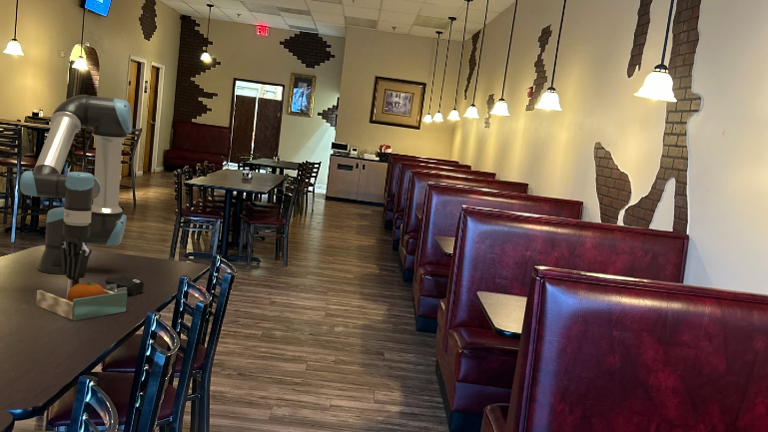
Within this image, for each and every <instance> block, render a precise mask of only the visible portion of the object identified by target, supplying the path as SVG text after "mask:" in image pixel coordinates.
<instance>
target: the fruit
mask: <svg viewBox="0 0 768 432" xmlns="http://www.w3.org/2000/svg"><path fill="white" fill-rule="evenodd" d="M104 289H105V288H103V286H101V285H99V284H98V283H96V282H81V283H80V282H79V284H76V285H74V286H73V287H72V288H71V289H70V290H69V292H68V294H67V293H66V297H67V299H66V300H68V301H71V302H73V299H78V298H85V297H91V296H98V295H104V294H106V293H105V291H104Z"/></svg>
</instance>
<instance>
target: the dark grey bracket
mask: <svg viewBox="0 0 768 432" xmlns="http://www.w3.org/2000/svg"><path fill="white" fill-rule="evenodd" d="M116 287H117V284H109V285H107V284H106V285H105V289H106V290H109V291H111V292H114V293H117V292H124V291H125V292H127V288H126V287H123V288H116Z"/></svg>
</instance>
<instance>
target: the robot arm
mask: <svg viewBox="0 0 768 432" xmlns="http://www.w3.org/2000/svg"><path fill="white" fill-rule="evenodd" d="M50 124H51V126H50V130H49V131H48V134H47V136H46V139H45V141H44V144H43V146H42V148H41V152H40V154H39V156H38V158H37V162H36V163H35V166H34V168H33V170H26V171H24V172H23V173H22V174H21V176H20V181H19V182H20V185H19V187H20V191H21V193H22V194H23V195H26V196H31V197H41V198H55V199H57V198H58V199H64V207H56V208H52V209H50V210H48V212H47V216H46V221H45V224H46V225H45V239H44V240H45V244H44V249H43V250H44V251H43V252H42V255H41V258H40V260H39V262H38V271H39V270H40V271H39V272H42V273H46V274H54V275H65V277H66V279H67V280H66V283H67V284H66V295H67V294H68V292H69V290H70V289H71V288H72V287H73V286H74V285H76V284H80V280H81V279H84V278H85V276H86V272H87V268H88V263H89V260H90V259H89V258H90V256H91V254H92V249H91V248H90V249H89V248H88V247H87V244H89V245H103V246H119V245H120V243H121V242H122V240H123V237H124V235H125V234H124V233H125V230H126V225H127V219H128V218H127V217H128V216H127V215H125V214H123V208H121V206H119V201H120V185H121V183H120V181H121V169H122V168H121V167H122V166H121V165H122V149H123V148H122V147H123V146H122V144H123V141H124V140H126V139H127V138H128V134H131V132H132V131H133V115H132V108H131V105H130V103H129V102H128V101H127V100H125V99H124V100H123V99H121V98H120V99H119V98H115V97H106V96H105V97H103V96H95V95H89V94H78V95H75V96H72V97H69V98H68V99H66V100H64V101H62V103H60V104H59V105H58V106H57V107H56V108H55V110H54V111H53V112H52V115H51V117H50ZM81 128H83V129H90V130H92V131H91V135H92V136H93V138H95V140H96V141H95V142H96V143H95V144H96V145H95V158H94V159H95V160H94V161H95V163H94V175H93V174H92V173H89V172H83V171H70V172H67V174H61V173H62V171H63V168H64V165H65V163H66V160H67V157H68V154H69V152H70V148H71V146H72V144H73V142H74V138H75V135H76V134H77V133H79V132H80V131H81ZM65 298H66V300H67V296H66V297H65Z"/></svg>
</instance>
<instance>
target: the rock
mask: <svg viewBox="0 0 768 432" xmlns="http://www.w3.org/2000/svg"><path fill="white" fill-rule="evenodd" d="M104 282H105V284H106V285H109V284H117V287H116V288H123V287H126V288H127V296H130V297H131V296H136V295H138V294H140V293H142V291H143V290H144V286H145V283H144V281H143V280H142V279H140V278H136V277H134V276H133V277H132V276H128V275H119V276H115V277H111V276H109V277H107V278H106V279H105V280H104Z"/></svg>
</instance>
